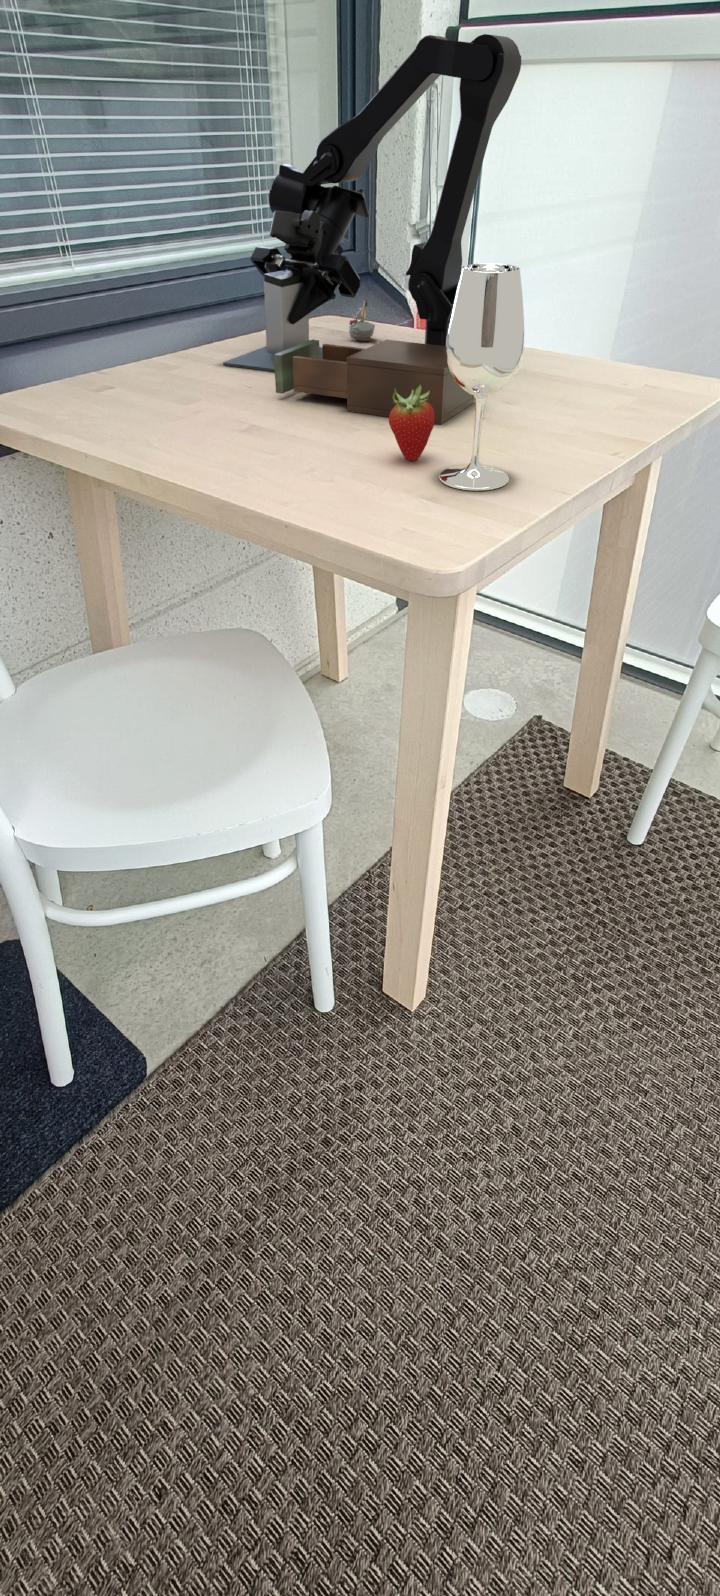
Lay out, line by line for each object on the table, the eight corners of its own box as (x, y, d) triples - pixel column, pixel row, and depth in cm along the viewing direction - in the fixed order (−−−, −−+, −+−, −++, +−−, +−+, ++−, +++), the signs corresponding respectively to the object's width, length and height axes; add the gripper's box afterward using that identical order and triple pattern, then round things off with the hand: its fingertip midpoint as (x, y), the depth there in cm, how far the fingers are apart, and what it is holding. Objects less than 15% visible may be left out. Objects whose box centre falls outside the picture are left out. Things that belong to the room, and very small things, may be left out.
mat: (276, 345, 147) (276, 342, 147) (350, 353, 142) (350, 350, 142) (223, 365, 136) (223, 362, 136) (300, 375, 131) (300, 372, 131)
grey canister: (292, 345, 141) (291, 268, 134) (309, 352, 140) (308, 273, 132) (266, 352, 139) (263, 274, 131) (283, 359, 137) (281, 279, 129)
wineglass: (423, 480, 95) (433, 268, 83) (467, 462, 100) (482, 259, 87) (481, 497, 91) (500, 277, 79) (523, 478, 96) (548, 267, 83)
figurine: (376, 342, 148) (376, 302, 145) (350, 343, 148) (350, 303, 144) (372, 336, 153) (372, 297, 149) (347, 336, 152) (346, 297, 148)
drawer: (268, 391, 121) (265, 353, 118) (305, 375, 128) (304, 338, 125) (356, 404, 116) (356, 364, 113) (390, 385, 123) (390, 348, 120)
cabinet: (347, 411, 116) (346, 357, 112) (385, 390, 124) (385, 339, 120) (441, 424, 111) (444, 368, 107) (474, 402, 119) (478, 349, 115)
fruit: (378, 461, 100) (379, 386, 95) (405, 449, 104) (407, 376, 99) (415, 470, 98) (418, 394, 93) (441, 457, 101) (445, 383, 96)
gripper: (253, 183, 132) (207, 276, 133) (346, 189, 123) (296, 290, 123) (292, 239, 142) (249, 326, 142) (381, 249, 132) (335, 342, 133)
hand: (280, 320), depth 135 cm, fingers closed on grey canister, 4 cm apart
